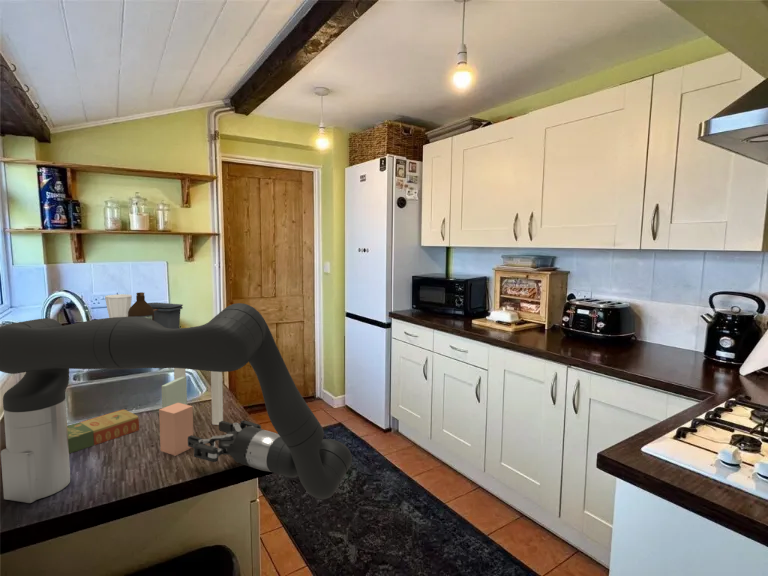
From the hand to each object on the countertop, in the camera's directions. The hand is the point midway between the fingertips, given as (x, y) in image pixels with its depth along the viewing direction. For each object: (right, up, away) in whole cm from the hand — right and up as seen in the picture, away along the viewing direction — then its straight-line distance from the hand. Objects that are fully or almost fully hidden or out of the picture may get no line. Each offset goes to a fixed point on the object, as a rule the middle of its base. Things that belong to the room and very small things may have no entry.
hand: (205, 432), depth 95 cm
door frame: (-10, -4, +20) cm, 23 cm away
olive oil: (-73, +5, +103) cm, 126 cm away
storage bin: (-83, +9, +138) cm, 162 cm away
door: (-15, -4, +16) cm, 22 cm away
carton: (-31, -5, +10) cm, 33 cm away
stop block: (-9, -5, +5) cm, 11 cm away
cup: (-93, +7, +118) cm, 150 cm away
